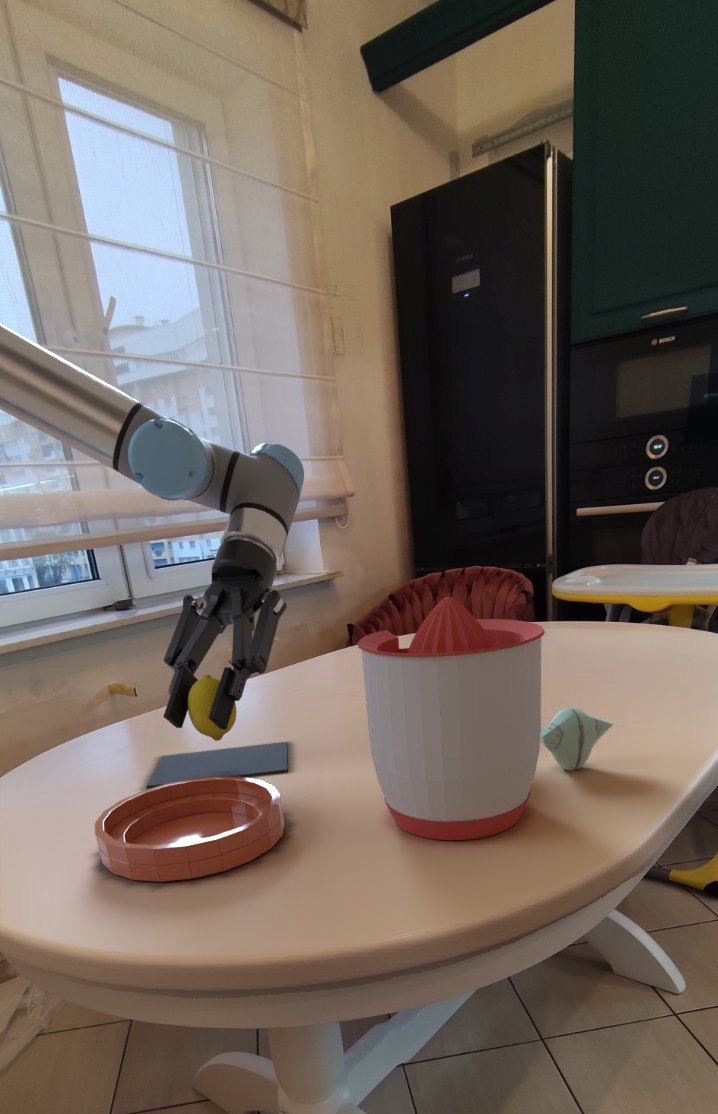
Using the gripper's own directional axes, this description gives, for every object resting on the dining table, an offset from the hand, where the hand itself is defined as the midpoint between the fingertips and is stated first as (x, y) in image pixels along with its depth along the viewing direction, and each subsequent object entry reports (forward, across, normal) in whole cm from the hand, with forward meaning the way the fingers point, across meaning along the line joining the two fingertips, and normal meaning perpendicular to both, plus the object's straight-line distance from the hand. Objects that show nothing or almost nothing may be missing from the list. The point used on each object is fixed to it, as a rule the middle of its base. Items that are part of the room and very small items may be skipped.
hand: (194, 722), depth 82 cm
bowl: (+16, -10, +6) cm, 20 cm away
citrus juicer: (+8, -31, -2) cm, 32 cm away
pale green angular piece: (-1, -40, -11) cm, 42 cm away
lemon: (0, 0, -5) cm, 5 cm away
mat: (+2, 0, -7) cm, 8 cm away
